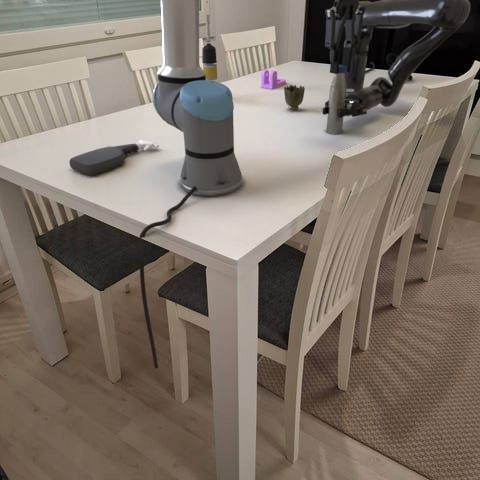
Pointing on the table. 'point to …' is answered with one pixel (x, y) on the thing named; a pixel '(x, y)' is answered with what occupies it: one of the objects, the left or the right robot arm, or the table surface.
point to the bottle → (336, 104)
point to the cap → (342, 69)
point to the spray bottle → (106, 157)
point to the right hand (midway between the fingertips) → (331, 112)
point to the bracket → (271, 80)
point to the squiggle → (392, 61)
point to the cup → (294, 96)
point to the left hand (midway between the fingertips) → (339, 71)
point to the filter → (209, 56)
